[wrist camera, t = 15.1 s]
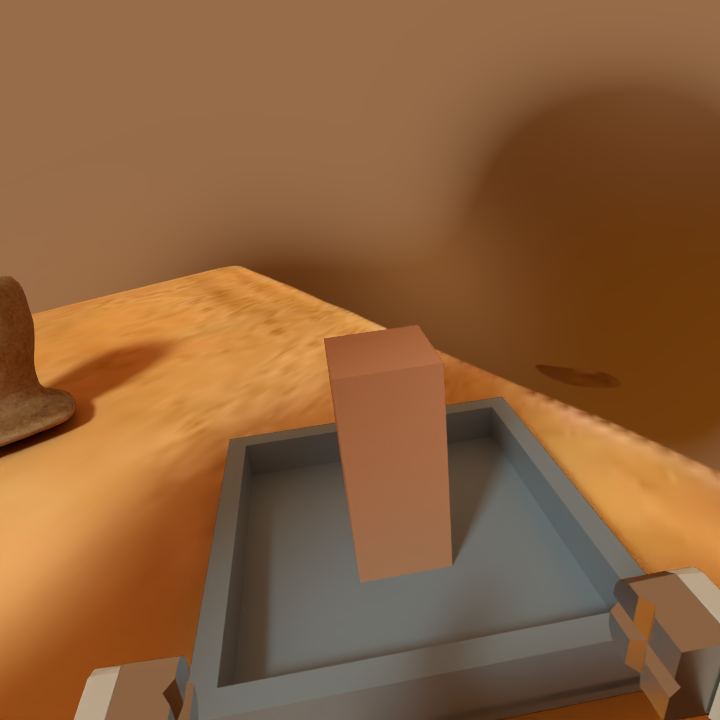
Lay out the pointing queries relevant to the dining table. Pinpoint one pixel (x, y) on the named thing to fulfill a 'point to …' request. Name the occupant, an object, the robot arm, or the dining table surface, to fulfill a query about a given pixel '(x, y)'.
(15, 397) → the stone cup
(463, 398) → the dining table surface
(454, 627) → the tray
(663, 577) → the robot arm
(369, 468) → the terracotta block
